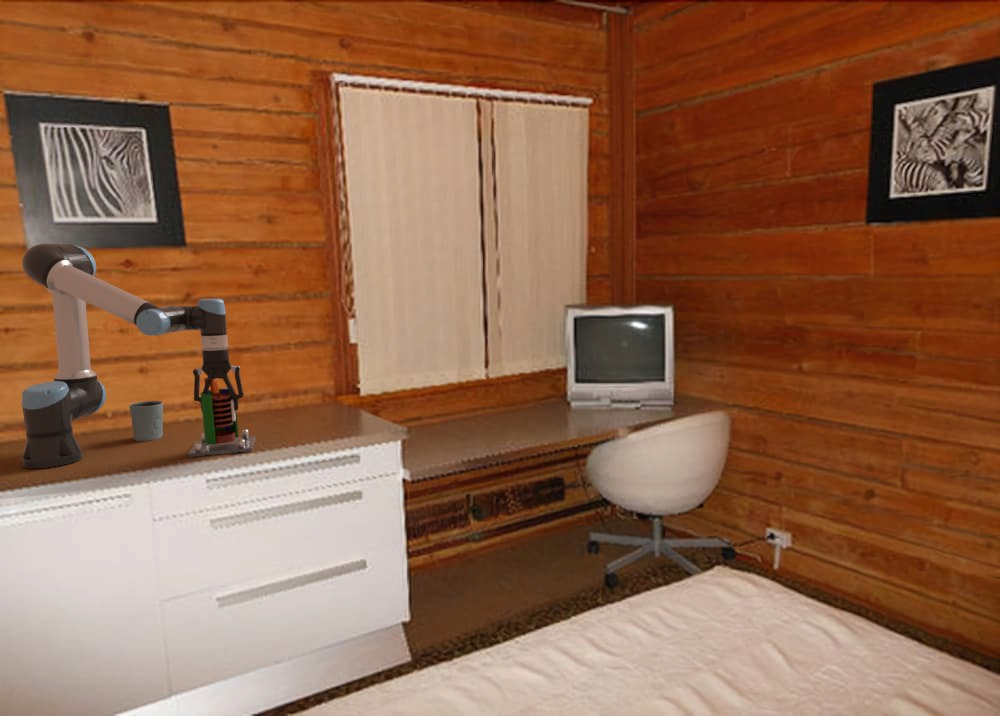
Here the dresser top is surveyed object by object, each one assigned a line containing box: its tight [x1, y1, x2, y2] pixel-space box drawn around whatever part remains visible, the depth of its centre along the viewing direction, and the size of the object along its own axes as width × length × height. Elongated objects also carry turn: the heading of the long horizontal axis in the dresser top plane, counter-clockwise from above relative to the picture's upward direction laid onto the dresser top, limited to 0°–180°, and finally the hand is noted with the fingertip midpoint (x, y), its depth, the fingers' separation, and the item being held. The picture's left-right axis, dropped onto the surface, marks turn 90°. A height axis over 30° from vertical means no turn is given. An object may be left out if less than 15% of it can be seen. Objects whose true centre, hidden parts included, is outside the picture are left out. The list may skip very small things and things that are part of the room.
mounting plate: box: [187, 429, 256, 458], centre depth 216 cm, size 18×16×4 cm
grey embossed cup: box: [128, 400, 164, 442], centre depth 232 cm, size 10×10×12 cm
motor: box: [200, 377, 240, 445], centre depth 215 cm, size 10×9×20 cm
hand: (221, 421), depth 215 cm, fingers closed on motor, 7 cm apart
